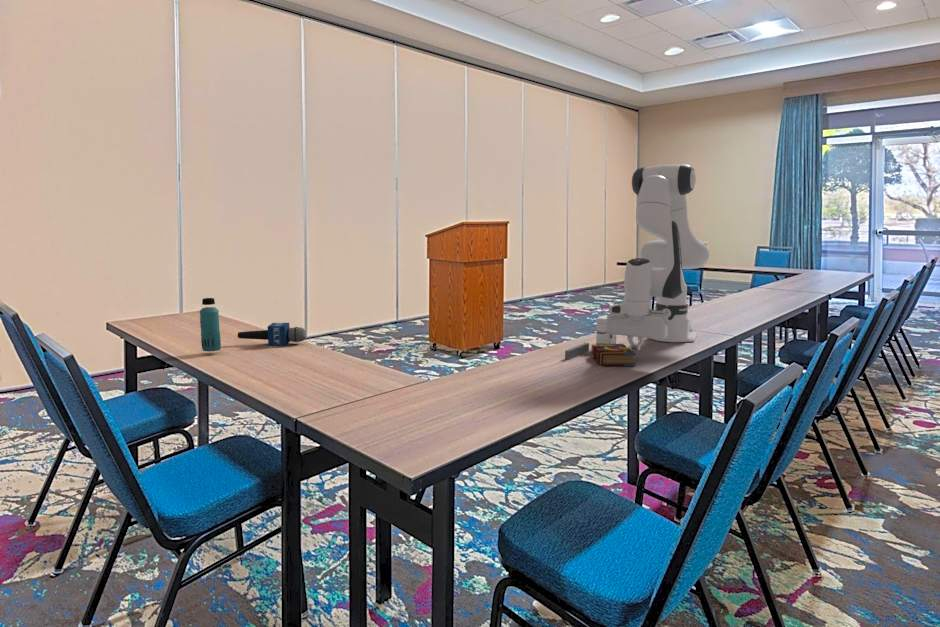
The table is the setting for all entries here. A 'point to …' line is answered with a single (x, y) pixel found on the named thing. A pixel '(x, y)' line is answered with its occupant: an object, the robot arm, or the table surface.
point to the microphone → (276, 334)
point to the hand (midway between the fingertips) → (635, 349)
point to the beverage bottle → (210, 326)
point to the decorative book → (613, 354)
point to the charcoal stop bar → (576, 350)
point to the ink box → (604, 333)
